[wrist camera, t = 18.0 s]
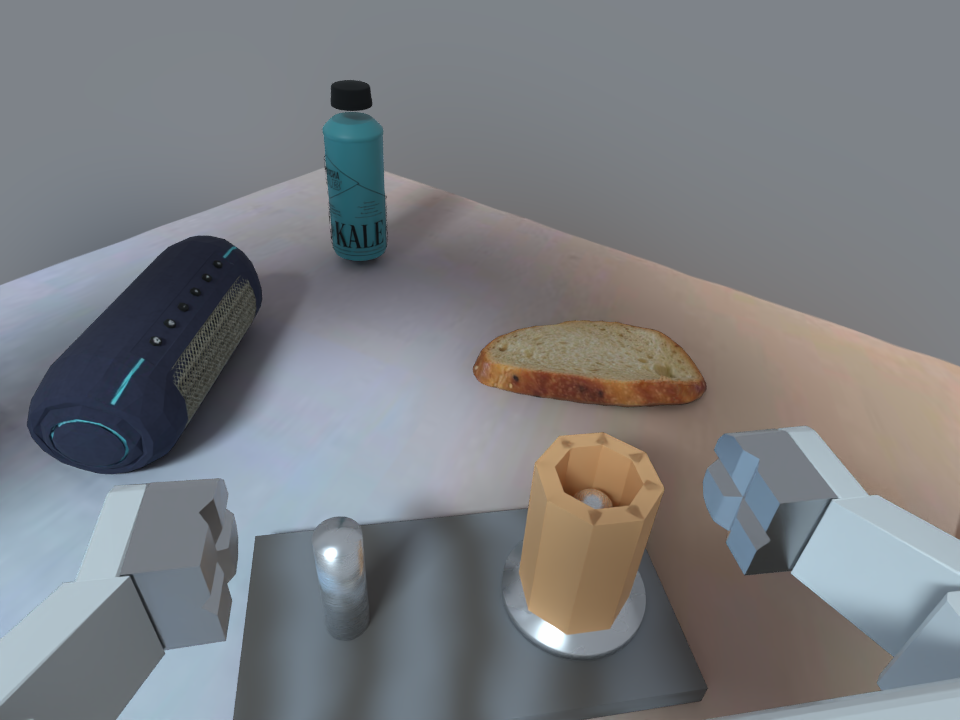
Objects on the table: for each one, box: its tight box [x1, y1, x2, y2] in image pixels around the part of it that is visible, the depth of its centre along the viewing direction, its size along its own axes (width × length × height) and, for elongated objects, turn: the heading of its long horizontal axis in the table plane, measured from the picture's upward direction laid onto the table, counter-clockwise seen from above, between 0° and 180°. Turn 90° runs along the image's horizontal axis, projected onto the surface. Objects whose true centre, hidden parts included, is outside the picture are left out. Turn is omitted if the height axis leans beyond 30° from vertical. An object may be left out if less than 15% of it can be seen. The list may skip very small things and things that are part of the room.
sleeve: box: [519, 432, 664, 635], centre depth 38 cm, size 6×6×10 cm
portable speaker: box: [27, 236, 262, 474], centre depth 55 cm, size 25×10×10 cm, turn 176°
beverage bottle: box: [323, 80, 388, 261], centre depth 71 cm, size 6×7×20 cm
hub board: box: [233, 489, 708, 720], centre depth 38 cm, size 26×14×11 cm, turn 100°
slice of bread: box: [473, 320, 706, 407], centre depth 61 cm, size 18×18×4 cm
